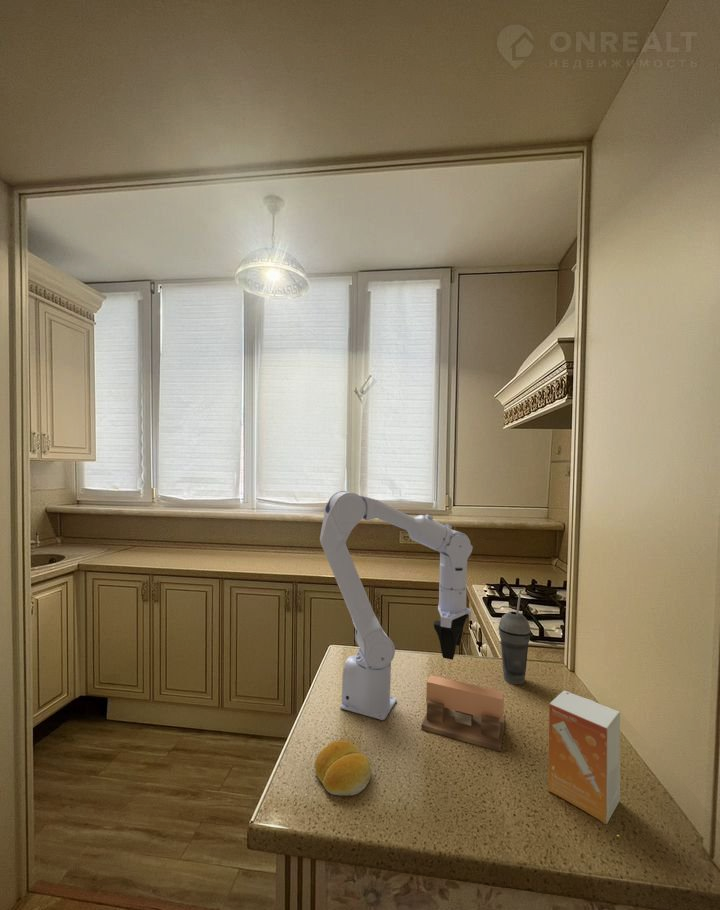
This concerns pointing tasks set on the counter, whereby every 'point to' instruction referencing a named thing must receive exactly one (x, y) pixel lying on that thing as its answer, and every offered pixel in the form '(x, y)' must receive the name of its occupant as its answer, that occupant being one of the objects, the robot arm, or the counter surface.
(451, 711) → the stand
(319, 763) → the bread roll
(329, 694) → the counter surface
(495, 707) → the bar
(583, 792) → the small box
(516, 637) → the beverage cup
